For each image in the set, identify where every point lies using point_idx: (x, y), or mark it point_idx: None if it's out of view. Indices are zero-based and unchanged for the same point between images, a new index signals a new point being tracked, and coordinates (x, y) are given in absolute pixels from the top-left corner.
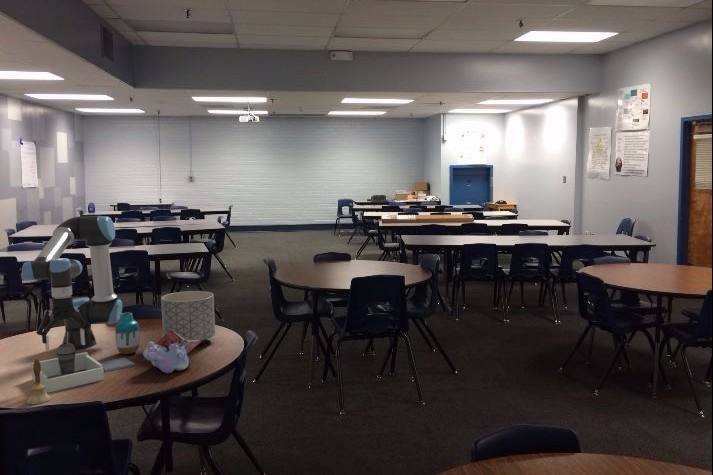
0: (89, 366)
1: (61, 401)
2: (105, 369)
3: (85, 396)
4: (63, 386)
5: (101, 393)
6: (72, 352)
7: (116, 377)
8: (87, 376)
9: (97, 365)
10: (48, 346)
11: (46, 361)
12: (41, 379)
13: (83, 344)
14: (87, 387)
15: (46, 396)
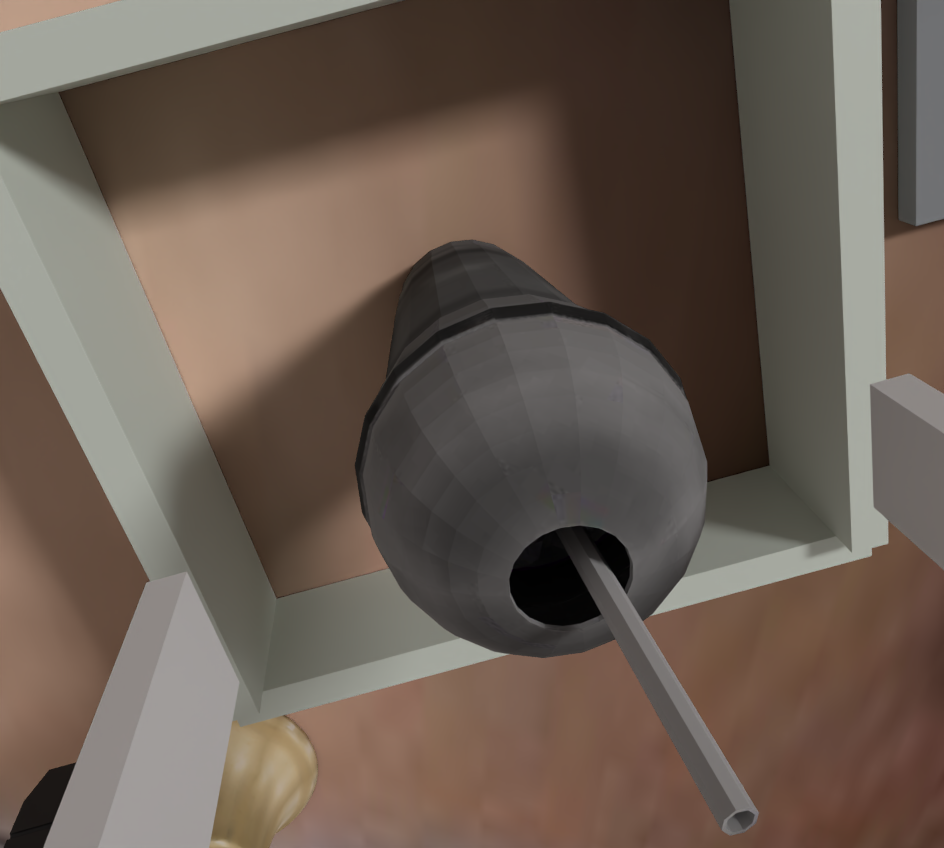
0: (772, 116)
1: (401, 840)
2: (913, 202)
3: (577, 806)
4: None
5: (695, 790)
6: (628, 571)
7: None
8: None
9: (840, 486)
10: (210, 766)
11: (150, 60)
12: None
13: (889, 510)
14: None
15: (282, 823)
